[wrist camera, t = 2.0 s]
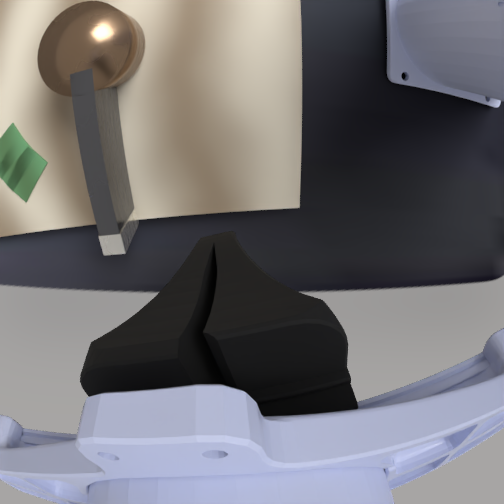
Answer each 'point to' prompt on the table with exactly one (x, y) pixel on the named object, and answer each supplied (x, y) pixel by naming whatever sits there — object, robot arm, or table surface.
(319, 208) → the table surface
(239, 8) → the board
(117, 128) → the bronze ball with handle
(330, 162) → the table surface
